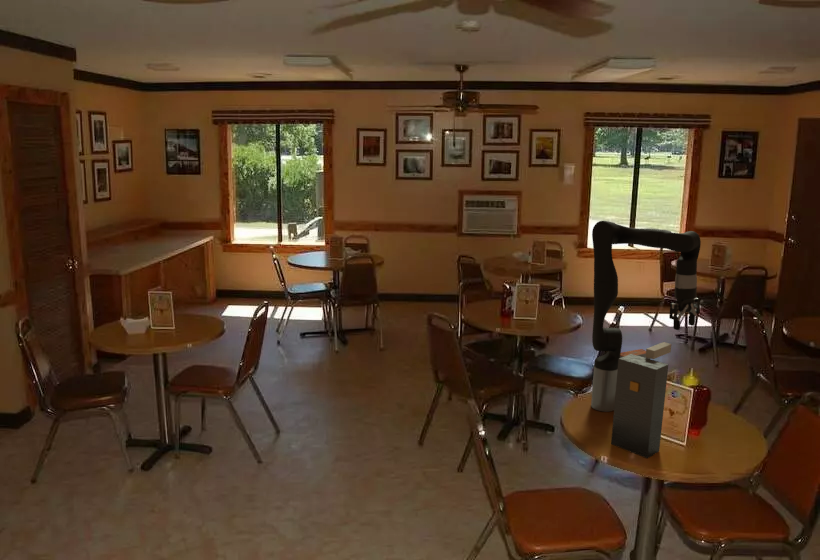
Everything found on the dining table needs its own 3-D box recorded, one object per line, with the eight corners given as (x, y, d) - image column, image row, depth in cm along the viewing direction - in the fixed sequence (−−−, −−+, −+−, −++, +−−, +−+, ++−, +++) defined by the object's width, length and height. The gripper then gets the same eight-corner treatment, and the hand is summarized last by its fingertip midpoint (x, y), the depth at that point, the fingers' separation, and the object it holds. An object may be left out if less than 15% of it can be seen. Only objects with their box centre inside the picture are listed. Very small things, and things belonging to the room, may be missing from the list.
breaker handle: (662, 350, 237) (663, 342, 237) (670, 352, 235) (671, 344, 235) (645, 357, 230) (646, 348, 229) (653, 359, 227) (654, 350, 227)
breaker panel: (623, 437, 241) (630, 353, 234) (659, 451, 230) (668, 364, 223) (610, 444, 235) (617, 358, 228) (646, 459, 225) (655, 370, 218)
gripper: (689, 280, 252) (687, 321, 255) (664, 286, 245) (663, 328, 248) (706, 284, 245) (705, 326, 249) (681, 290, 238) (680, 333, 242)
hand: (684, 327), depth 249 cm, fingers open, 8 cm apart
